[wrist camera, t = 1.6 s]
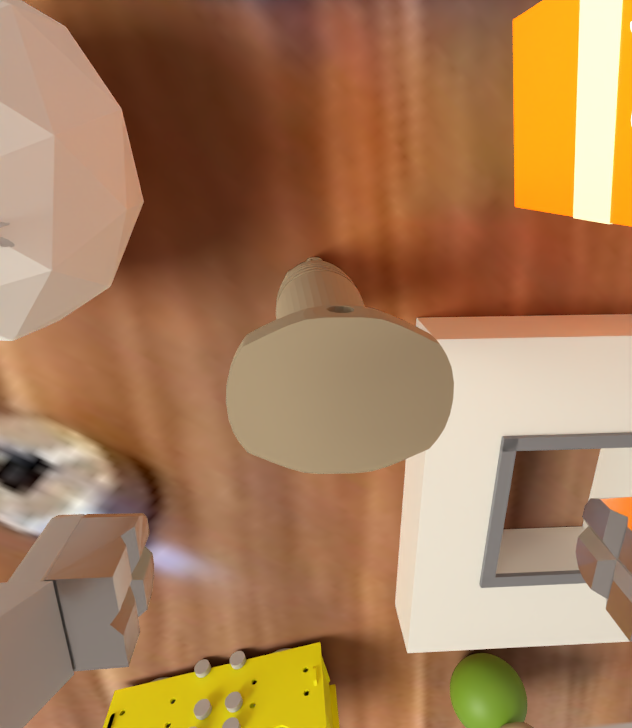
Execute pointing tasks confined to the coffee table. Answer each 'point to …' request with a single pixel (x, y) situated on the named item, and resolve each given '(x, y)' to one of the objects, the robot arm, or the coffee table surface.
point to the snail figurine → (488, 693)
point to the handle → (336, 380)
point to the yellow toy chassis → (235, 695)
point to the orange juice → (574, 109)
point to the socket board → (493, 480)
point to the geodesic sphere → (57, 175)
